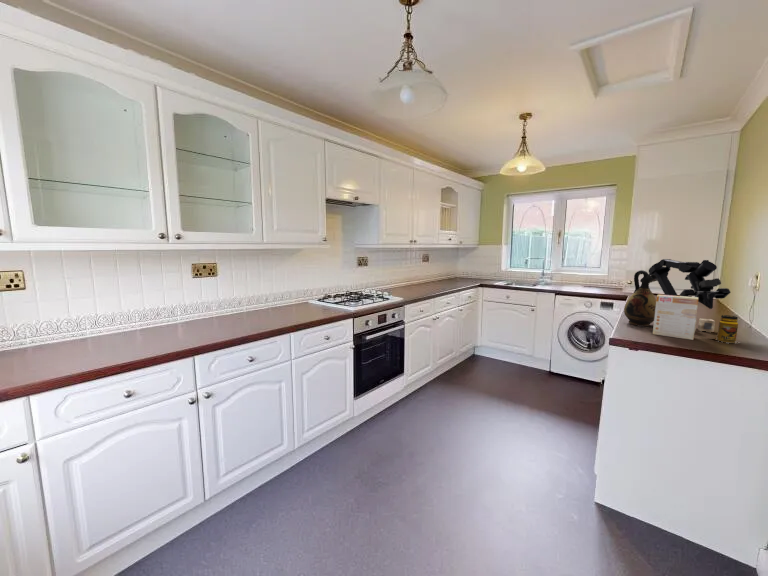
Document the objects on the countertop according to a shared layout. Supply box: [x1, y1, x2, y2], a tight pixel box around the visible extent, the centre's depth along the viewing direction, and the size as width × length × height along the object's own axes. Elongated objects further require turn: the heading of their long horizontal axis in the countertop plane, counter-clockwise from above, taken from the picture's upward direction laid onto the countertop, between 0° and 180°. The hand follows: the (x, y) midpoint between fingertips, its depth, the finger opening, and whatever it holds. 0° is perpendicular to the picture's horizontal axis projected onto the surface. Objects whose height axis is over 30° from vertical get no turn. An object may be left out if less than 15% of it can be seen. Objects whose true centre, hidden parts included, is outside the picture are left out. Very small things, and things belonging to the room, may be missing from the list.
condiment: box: [716, 314, 741, 344], centre depth 153 cm, size 7×8×12 cm
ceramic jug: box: [623, 269, 658, 327], centre depth 186 cm, size 17×15×30 cm
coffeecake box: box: [652, 294, 699, 341], centre depth 161 cm, size 15×7×20 cm, turn 47°
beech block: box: [697, 318, 716, 333], centre depth 173 cm, size 5×5×6 cm
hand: (711, 308), depth 163 cm, fingers closed
